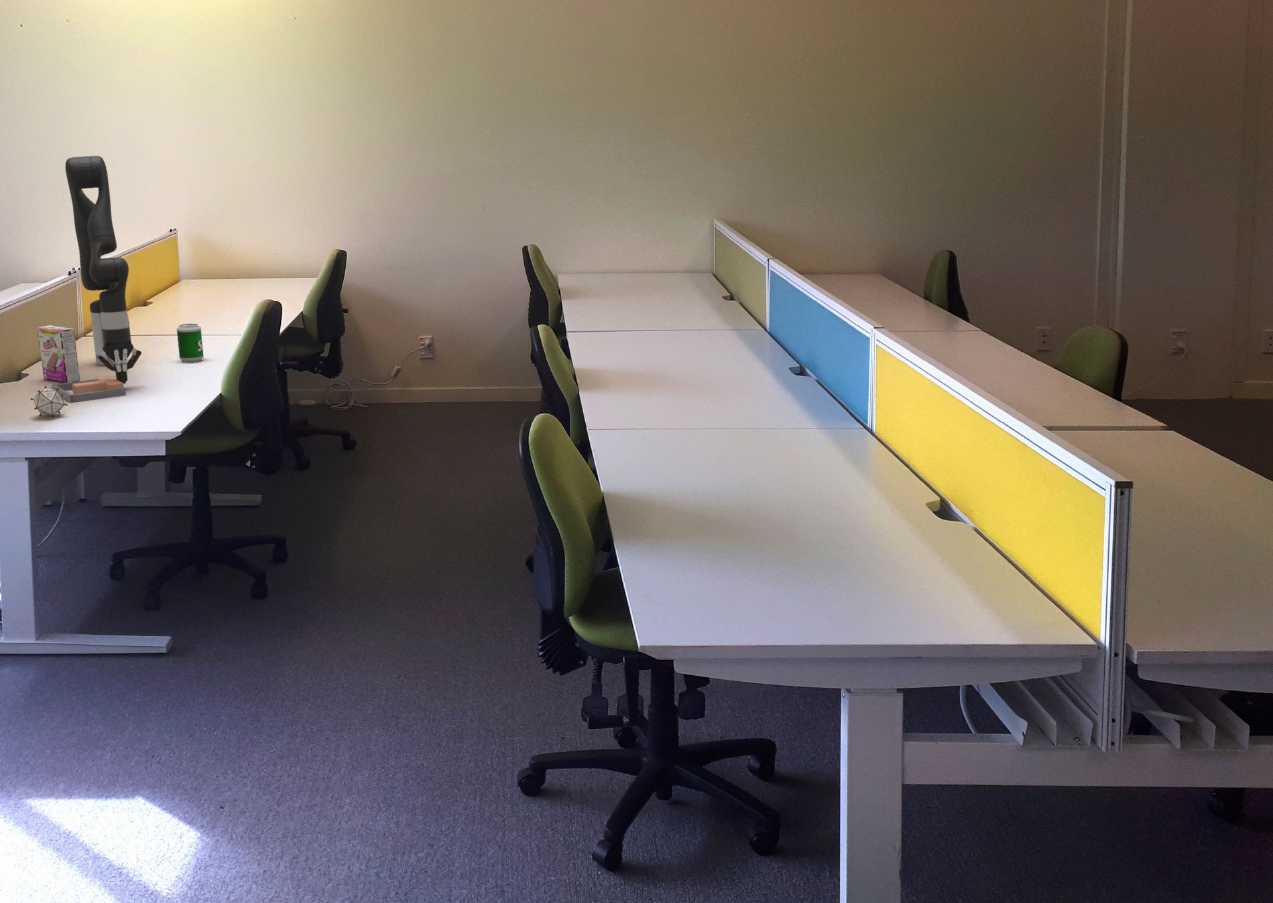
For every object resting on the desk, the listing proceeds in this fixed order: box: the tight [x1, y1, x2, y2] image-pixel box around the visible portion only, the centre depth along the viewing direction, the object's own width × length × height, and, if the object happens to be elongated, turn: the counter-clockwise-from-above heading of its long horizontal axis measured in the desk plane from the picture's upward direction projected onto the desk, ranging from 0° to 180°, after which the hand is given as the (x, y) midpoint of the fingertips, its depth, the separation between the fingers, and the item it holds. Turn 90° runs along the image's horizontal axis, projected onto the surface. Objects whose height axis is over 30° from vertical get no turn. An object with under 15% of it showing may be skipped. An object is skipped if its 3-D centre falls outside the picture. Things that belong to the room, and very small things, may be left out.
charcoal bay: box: [51, 378, 127, 403], centre depth 357 cm, size 18×16×2 cm
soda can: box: [176, 323, 204, 364], centre depth 401 cm, size 8×8×12 cm
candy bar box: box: [36, 324, 81, 384], centre depth 371 cm, size 11×5×16 cm, turn 62°
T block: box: [72, 376, 125, 395], centre depth 358 cm, size 12×12×3 cm
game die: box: [30, 385, 69, 419], centre depth 330 cm, size 9×8×10 cm
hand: (122, 383), depth 363 cm, fingers closed
